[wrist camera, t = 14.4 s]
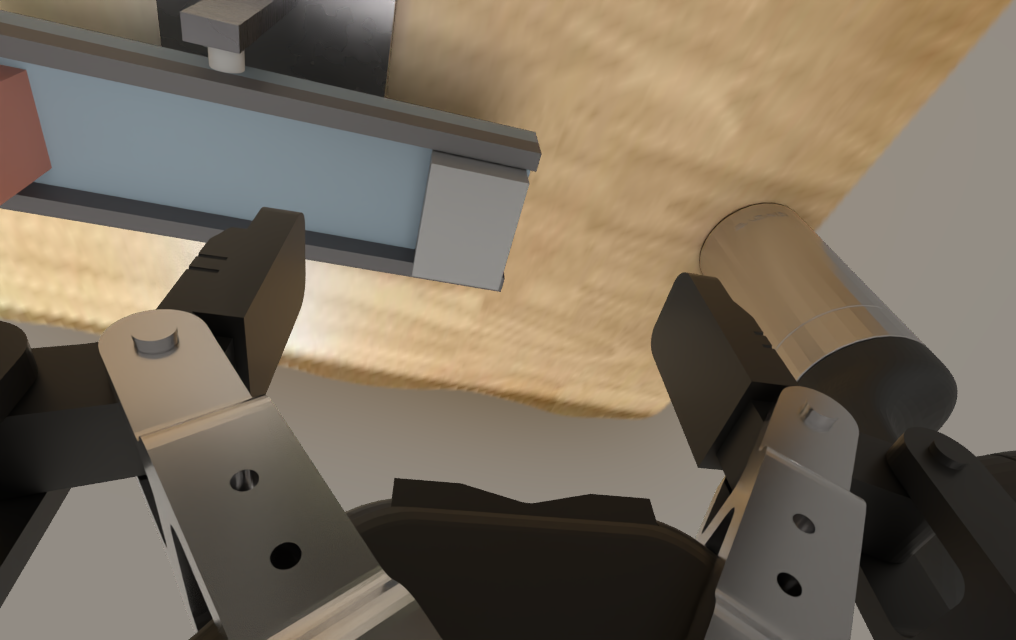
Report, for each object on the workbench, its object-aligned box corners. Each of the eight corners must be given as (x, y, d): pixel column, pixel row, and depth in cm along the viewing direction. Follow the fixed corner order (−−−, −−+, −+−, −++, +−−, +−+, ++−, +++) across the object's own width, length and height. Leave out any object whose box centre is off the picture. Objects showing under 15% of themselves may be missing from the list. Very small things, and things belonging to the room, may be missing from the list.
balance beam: (540, 114, 31) (550, 146, 28) (494, 276, 38) (498, 319, 34) (-158, -50, 25) (-264, -36, 21) (-68, 179, 31) (-136, 220, 28)
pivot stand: (400, -29, 35) (375, 13, 25) (371, 222, 46) (346, 322, 36) (154, -96, 32) (15, -80, 22) (184, 188, 43) (100, 286, 33)
